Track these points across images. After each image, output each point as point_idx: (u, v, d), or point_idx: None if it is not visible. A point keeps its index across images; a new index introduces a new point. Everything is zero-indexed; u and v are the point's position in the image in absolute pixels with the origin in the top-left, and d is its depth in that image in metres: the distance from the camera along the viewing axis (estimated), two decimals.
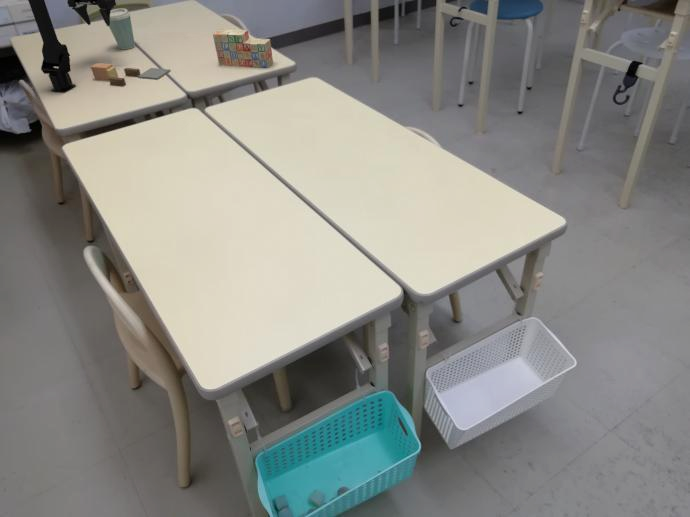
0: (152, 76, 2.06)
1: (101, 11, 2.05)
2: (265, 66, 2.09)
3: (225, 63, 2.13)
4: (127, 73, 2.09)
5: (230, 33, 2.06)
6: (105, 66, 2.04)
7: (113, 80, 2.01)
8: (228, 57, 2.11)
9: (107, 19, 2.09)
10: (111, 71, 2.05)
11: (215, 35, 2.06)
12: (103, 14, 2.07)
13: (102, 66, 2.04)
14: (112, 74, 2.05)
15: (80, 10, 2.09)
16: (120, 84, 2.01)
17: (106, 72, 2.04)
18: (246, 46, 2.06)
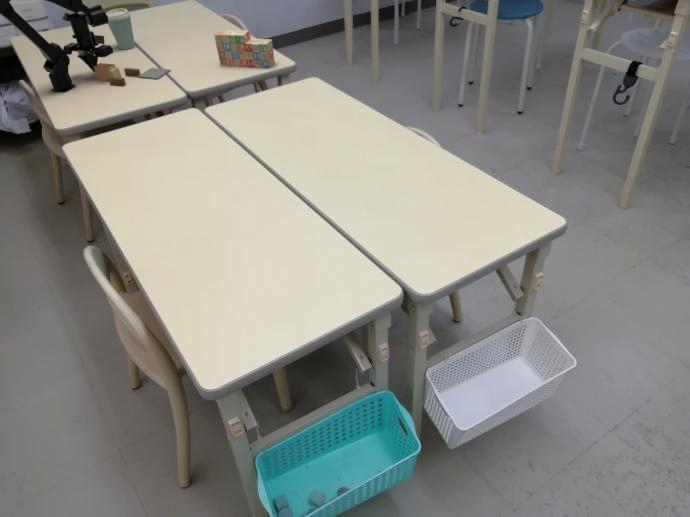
0: (152, 76, 2.06)
1: (88, 58, 2.02)
2: (267, 66, 2.08)
3: (226, 64, 2.12)
4: (127, 73, 2.09)
5: (232, 33, 2.05)
6: (108, 66, 2.04)
7: (113, 80, 2.01)
8: (230, 57, 2.10)
9: None
10: (114, 71, 2.04)
11: (216, 36, 2.06)
12: (90, 61, 2.03)
13: (105, 66, 2.04)
14: (115, 74, 2.05)
15: (86, 58, 2.03)
16: (120, 84, 2.01)
17: (109, 72, 2.03)
18: (248, 46, 2.05)
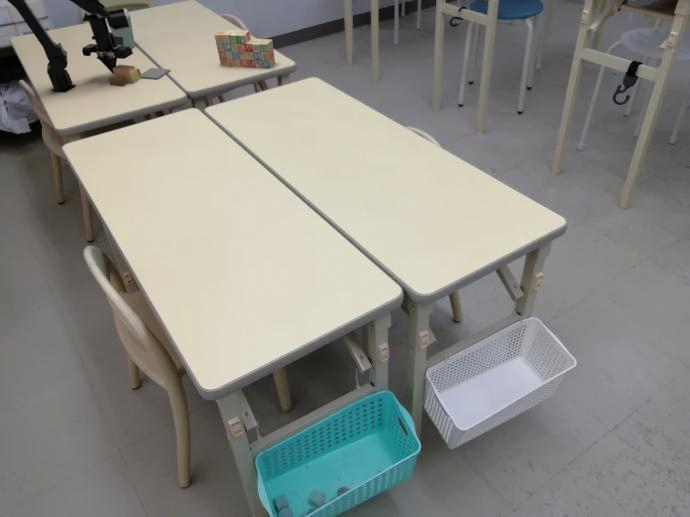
0: (152, 76, 2.06)
1: (107, 60, 1.99)
2: (267, 66, 2.08)
3: (227, 64, 2.12)
4: None
5: (232, 34, 2.05)
6: (127, 68, 2.01)
7: (113, 80, 2.01)
8: (230, 57, 2.10)
9: None
10: (133, 73, 2.02)
11: (217, 36, 2.06)
12: (109, 63, 2.01)
13: (124, 68, 2.02)
14: (134, 76, 2.03)
15: (105, 59, 2.01)
16: (120, 84, 2.01)
17: (129, 73, 2.01)
18: (249, 46, 2.05)
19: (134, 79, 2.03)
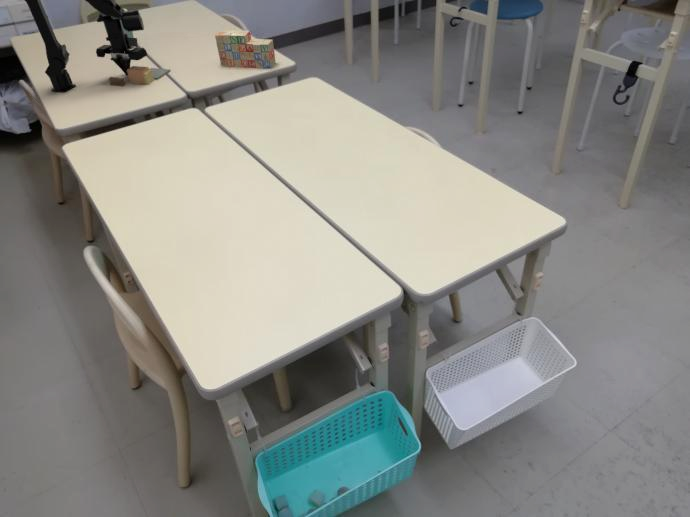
0: None
1: (121, 61, 1.98)
2: (268, 67, 2.08)
3: (227, 64, 2.12)
4: None
5: (232, 34, 2.05)
6: (141, 69, 2.00)
7: (113, 80, 2.01)
8: (231, 58, 2.10)
9: None
10: (148, 74, 2.00)
11: (217, 36, 2.05)
12: (123, 64, 1.99)
13: (138, 69, 2.00)
14: (148, 77, 2.01)
15: (119, 61, 1.99)
16: (120, 84, 2.01)
17: (143, 75, 1.99)
18: (249, 47, 2.05)
19: (148, 80, 2.01)
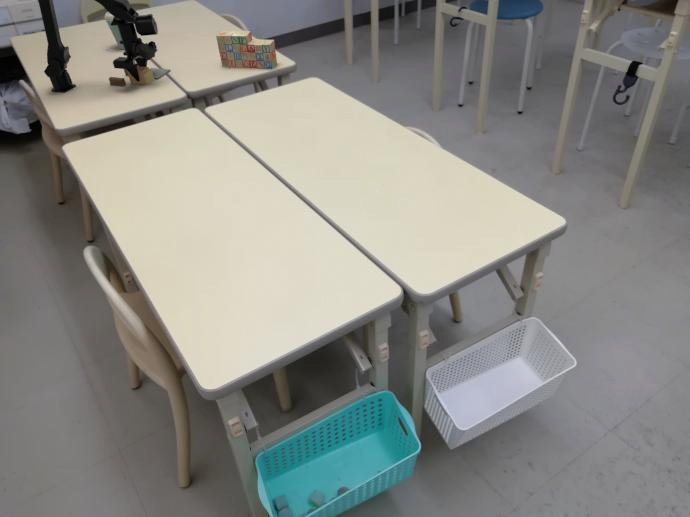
0: None
1: None
2: (270, 67, 2.08)
3: (228, 65, 2.11)
4: (127, 73, 2.09)
5: (234, 34, 2.04)
6: (142, 69, 2.00)
7: (113, 80, 2.01)
8: (232, 58, 2.09)
9: (133, 75, 2.00)
10: (148, 74, 2.00)
11: (218, 37, 2.05)
12: None
13: (139, 69, 2.00)
14: (149, 77, 2.01)
15: (137, 60, 2.02)
16: (120, 84, 2.01)
17: (143, 75, 1.99)
18: (251, 47, 2.05)
19: (148, 80, 2.01)
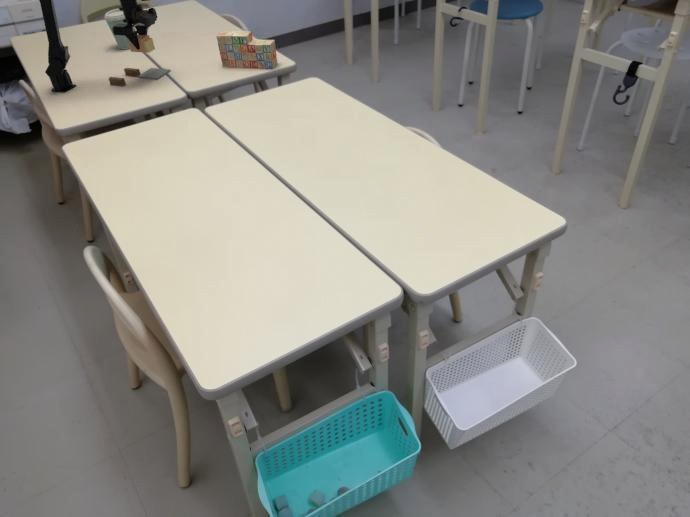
0: (152, 76, 2.06)
1: None
2: (270, 67, 2.08)
3: (229, 65, 2.11)
4: (127, 73, 2.09)
5: (234, 34, 2.04)
6: (142, 37, 1.96)
7: (113, 80, 2.01)
8: (232, 58, 2.09)
9: (133, 43, 1.96)
10: (148, 42, 1.97)
11: (219, 37, 2.04)
12: None
13: (139, 37, 1.96)
14: (149, 45, 1.97)
15: (137, 28, 1.98)
16: (120, 84, 2.01)
17: (144, 43, 1.96)
18: (251, 47, 2.04)
19: (149, 49, 1.97)
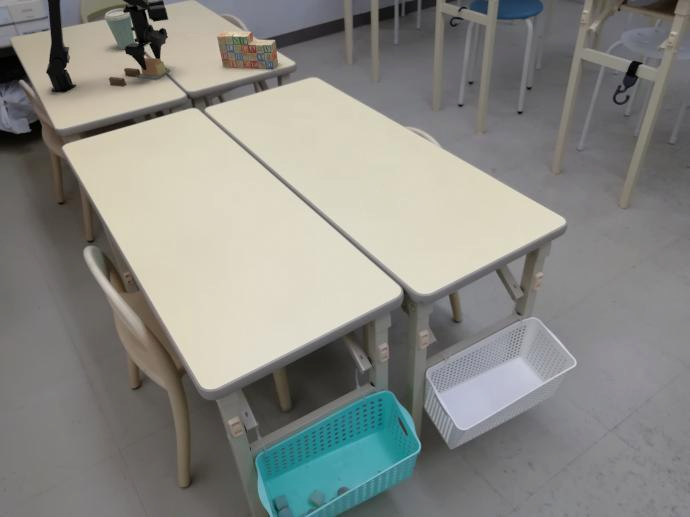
0: (152, 76, 2.06)
1: None
2: (271, 67, 2.08)
3: (229, 65, 2.11)
4: (127, 73, 2.09)
5: (235, 35, 2.04)
6: (154, 60, 2.05)
7: (113, 80, 2.01)
8: (233, 59, 2.08)
9: (140, 64, 2.01)
10: (160, 66, 2.05)
11: (219, 37, 2.04)
12: None
13: (151, 60, 2.05)
14: (160, 69, 2.06)
15: (151, 45, 2.07)
16: (120, 84, 2.01)
17: (155, 66, 2.04)
18: (252, 47, 2.04)
19: (160, 72, 2.06)
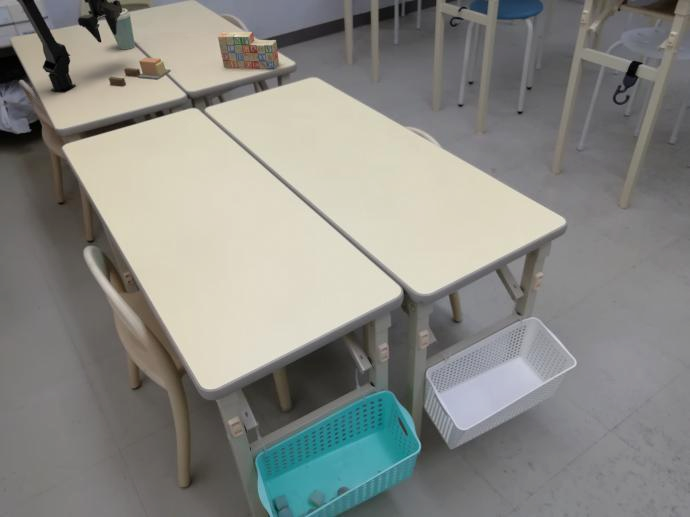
0: (152, 76, 2.06)
1: None
2: (272, 67, 2.07)
3: (230, 66, 2.10)
4: (127, 73, 2.09)
5: (236, 35, 2.03)
6: (154, 60, 2.05)
7: (113, 80, 2.01)
8: (234, 59, 2.08)
9: (94, 36, 2.03)
10: (160, 66, 2.05)
11: (220, 38, 2.04)
12: None
13: (151, 60, 2.05)
14: (160, 69, 2.06)
15: (107, 18, 2.08)
16: (120, 84, 2.01)
17: (155, 66, 2.04)
18: (253, 48, 2.04)
19: (160, 72, 2.06)
